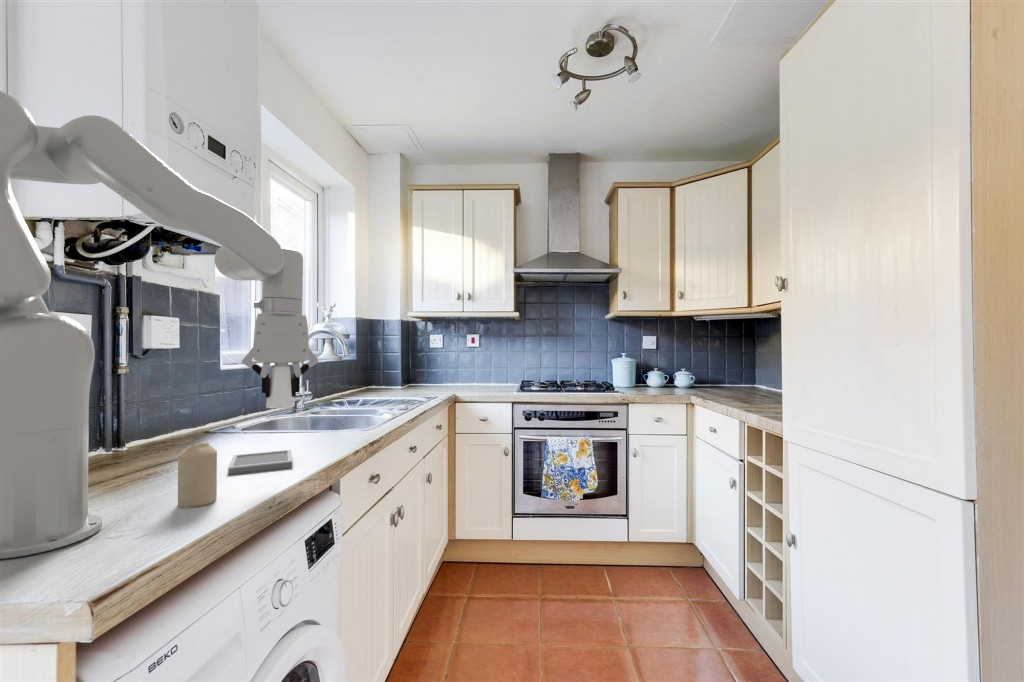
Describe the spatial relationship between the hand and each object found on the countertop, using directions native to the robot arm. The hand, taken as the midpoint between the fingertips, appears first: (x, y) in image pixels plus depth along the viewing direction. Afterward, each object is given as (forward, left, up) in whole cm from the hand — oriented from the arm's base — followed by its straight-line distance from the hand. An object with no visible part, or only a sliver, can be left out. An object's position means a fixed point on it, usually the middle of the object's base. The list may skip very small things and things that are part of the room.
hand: (280, 395), depth 93 cm
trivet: (-4, +12, -17) cm, 21 cm away
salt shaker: (0, 0, -3) cm, 3 cm away
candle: (-13, -11, -17) cm, 24 cm away
